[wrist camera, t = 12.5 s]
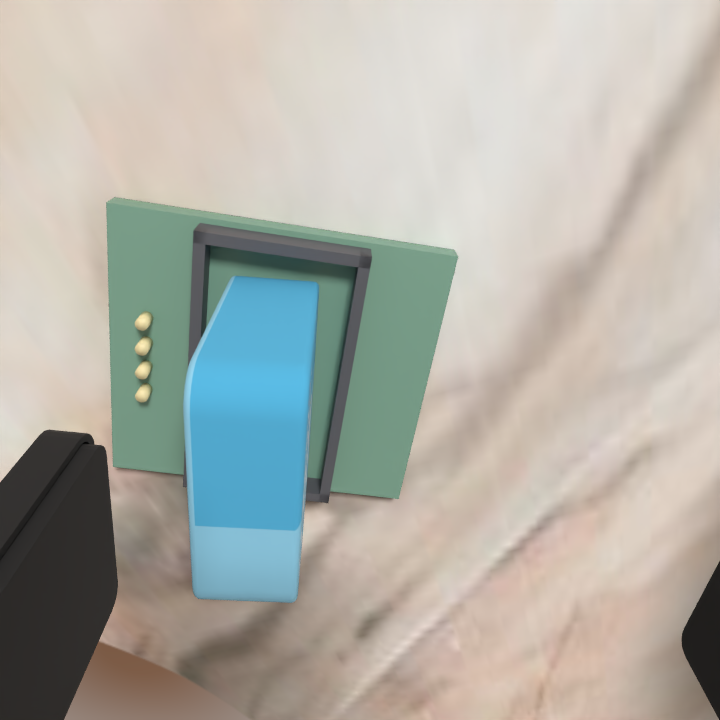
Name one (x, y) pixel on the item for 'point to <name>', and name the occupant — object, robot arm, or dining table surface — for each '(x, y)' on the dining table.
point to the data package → (250, 439)
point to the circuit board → (333, 339)
